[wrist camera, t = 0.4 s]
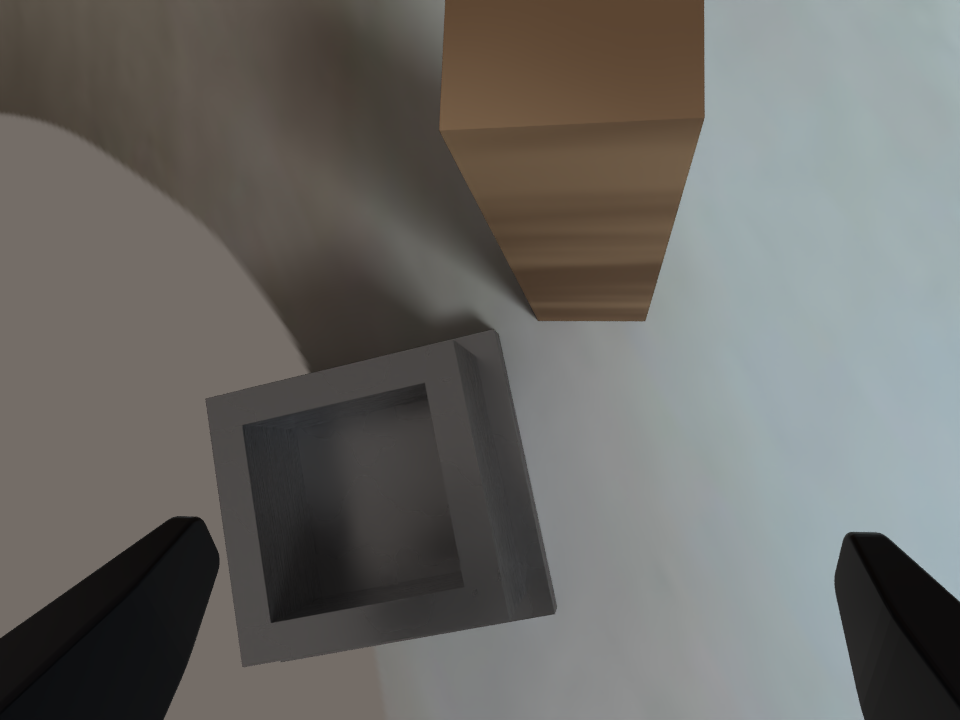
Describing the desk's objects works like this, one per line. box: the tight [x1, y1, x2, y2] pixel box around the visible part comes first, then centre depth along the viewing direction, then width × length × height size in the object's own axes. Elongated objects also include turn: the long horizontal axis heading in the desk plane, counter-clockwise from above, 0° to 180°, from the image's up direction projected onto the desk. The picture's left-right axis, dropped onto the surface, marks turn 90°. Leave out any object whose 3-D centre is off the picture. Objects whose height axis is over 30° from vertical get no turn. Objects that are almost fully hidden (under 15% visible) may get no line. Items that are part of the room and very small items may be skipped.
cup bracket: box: [206, 329, 557, 667], centre depth 21 cm, size 9×9×4 cm
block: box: [439, 0, 705, 321], centre depth 16 cm, size 4×4×14 cm
